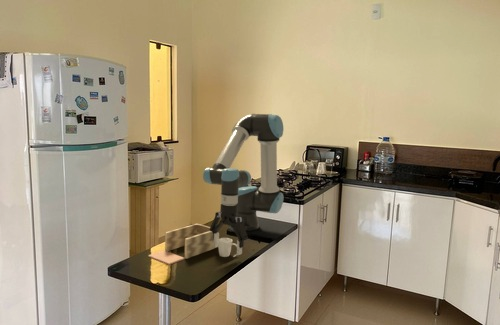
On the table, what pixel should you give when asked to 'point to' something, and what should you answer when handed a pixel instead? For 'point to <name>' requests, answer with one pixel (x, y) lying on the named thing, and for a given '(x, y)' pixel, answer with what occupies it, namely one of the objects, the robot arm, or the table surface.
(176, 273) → the table surface
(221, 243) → the cup
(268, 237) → the table surface
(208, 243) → the box
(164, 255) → the tailgate
